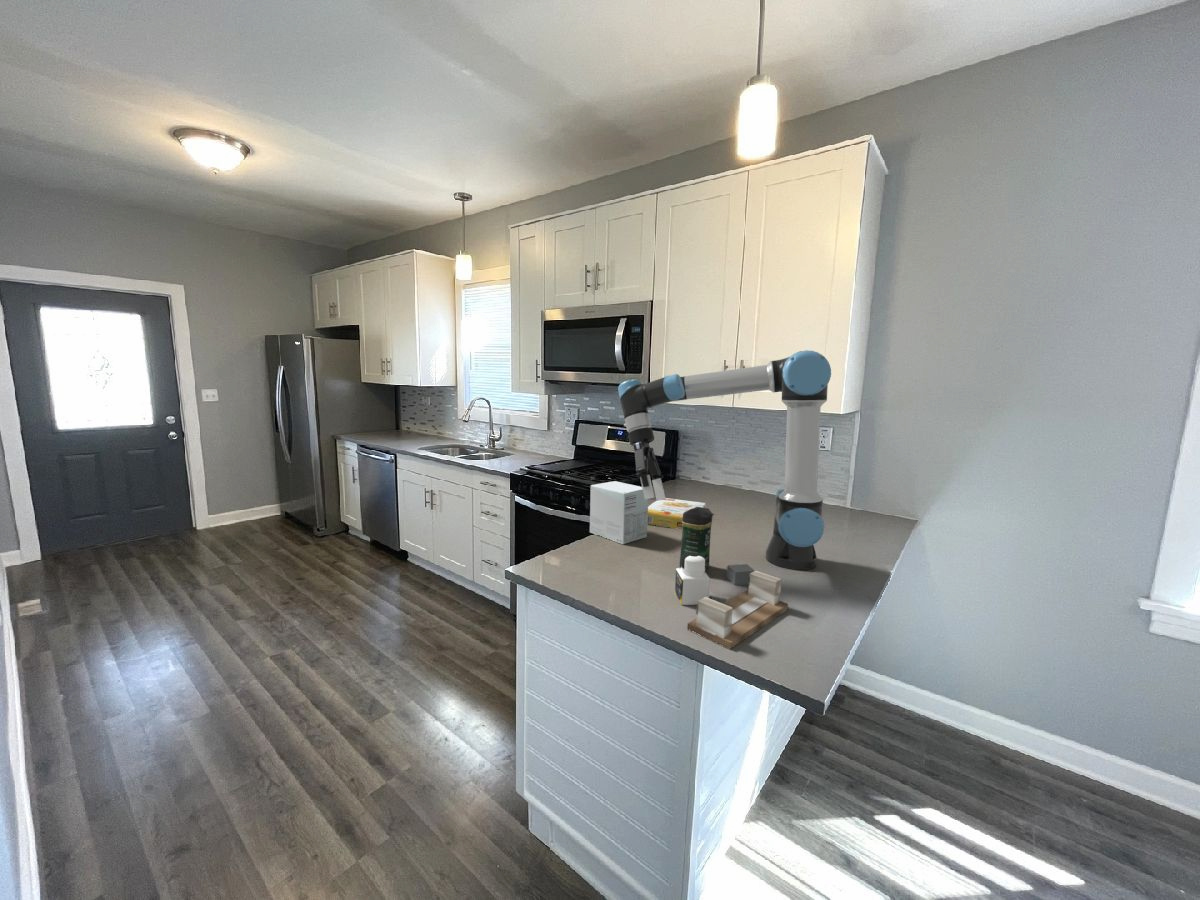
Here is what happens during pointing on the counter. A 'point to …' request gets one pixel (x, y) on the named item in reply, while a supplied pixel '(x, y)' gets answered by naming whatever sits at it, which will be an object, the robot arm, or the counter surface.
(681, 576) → the medicine bottle
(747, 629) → the rail board
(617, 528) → the supplement box
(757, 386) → the robot arm
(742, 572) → the gray cube
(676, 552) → the counter surface
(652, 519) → the cereal box
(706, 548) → the coffee jar
